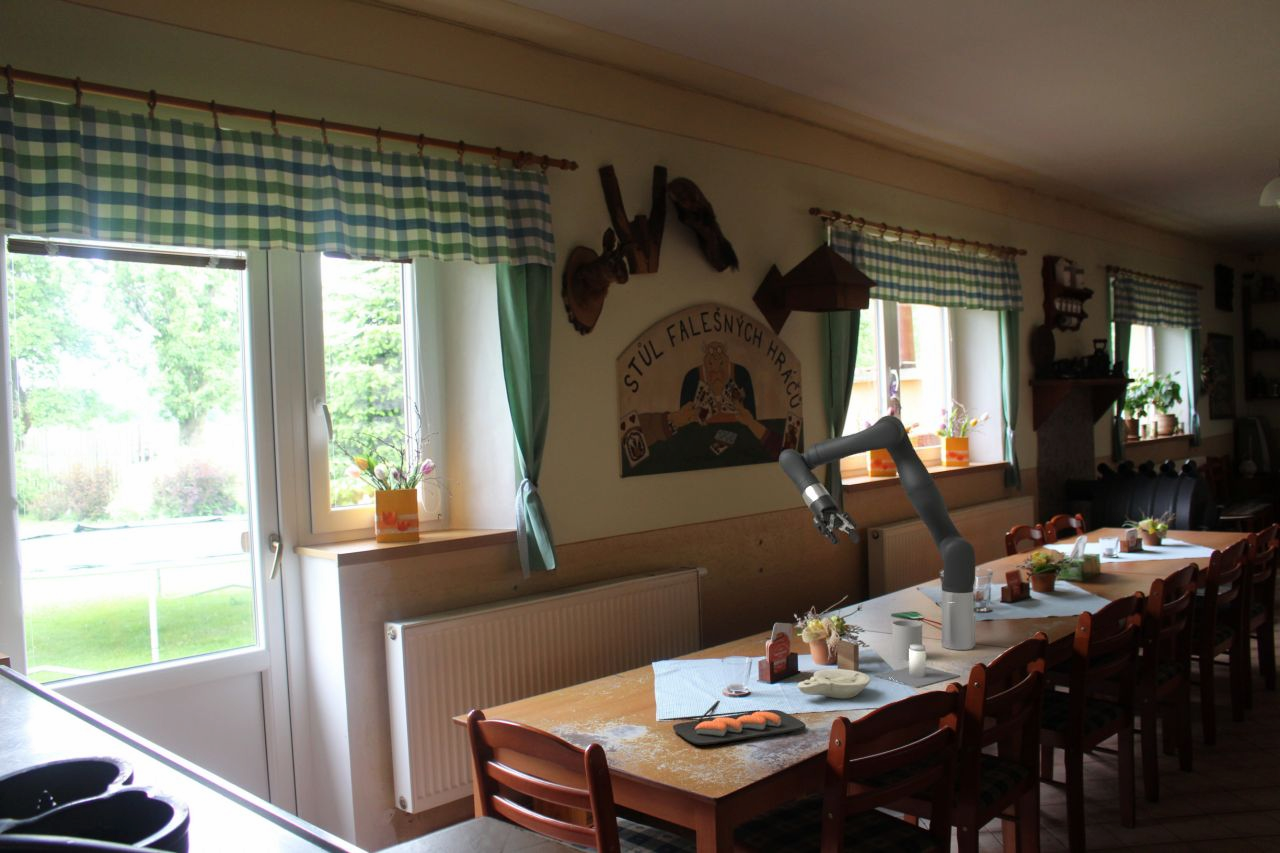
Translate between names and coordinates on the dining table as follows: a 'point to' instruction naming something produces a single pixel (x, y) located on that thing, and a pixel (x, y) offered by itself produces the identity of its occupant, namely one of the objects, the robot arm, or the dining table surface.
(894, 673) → the felt mat
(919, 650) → the sugar shaker
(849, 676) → the oil lamp
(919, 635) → the cup
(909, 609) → the dining table surface
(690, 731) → the sushi plate
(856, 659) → the brown flat rectangular block
